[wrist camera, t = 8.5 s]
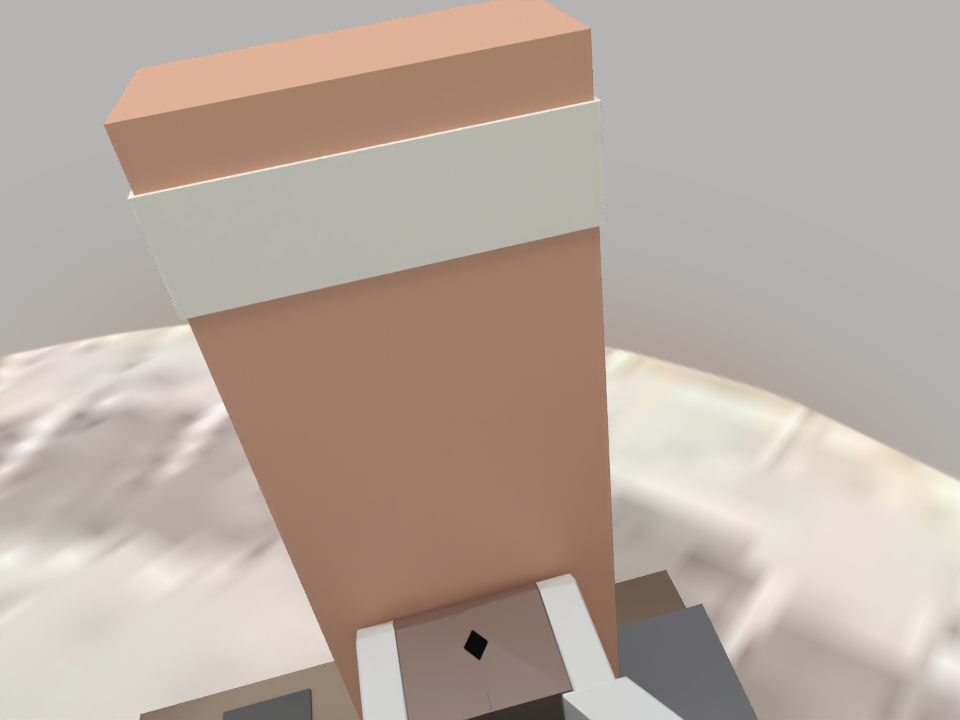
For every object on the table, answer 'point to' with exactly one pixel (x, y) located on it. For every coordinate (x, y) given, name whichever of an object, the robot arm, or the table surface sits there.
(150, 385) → the table surface
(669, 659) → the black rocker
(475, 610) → the robot arm
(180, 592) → the table surface
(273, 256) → the terracotta paddle
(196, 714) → the walnut control box
